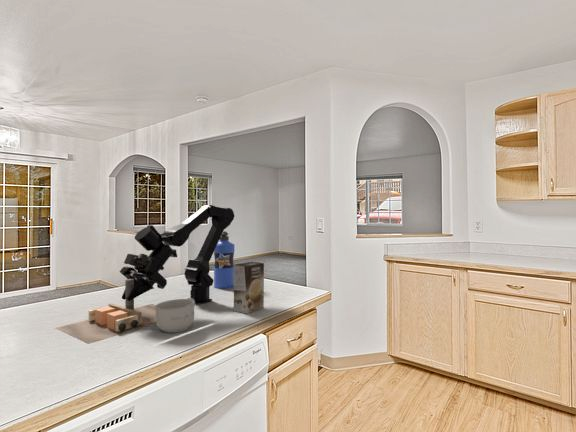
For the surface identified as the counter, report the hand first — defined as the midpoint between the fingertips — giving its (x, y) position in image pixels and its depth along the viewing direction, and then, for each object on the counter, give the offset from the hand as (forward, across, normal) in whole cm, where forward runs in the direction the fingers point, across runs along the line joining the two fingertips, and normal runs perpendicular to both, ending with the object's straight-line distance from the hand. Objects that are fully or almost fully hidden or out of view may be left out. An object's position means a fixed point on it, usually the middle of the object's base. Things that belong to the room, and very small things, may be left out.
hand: (125, 299), depth 106 cm
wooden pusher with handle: (+6, 0, +3) cm, 7 cm away
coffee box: (-18, +22, +28) cm, 40 cm away
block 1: (+8, -4, +1) cm, 9 cm away
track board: (+5, 0, +5) cm, 7 cm away
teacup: (+1, +18, +10) cm, 21 cm away
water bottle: (-32, -11, +42) cm, 54 cm away
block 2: (+8, +4, +1) cm, 9 cm away
